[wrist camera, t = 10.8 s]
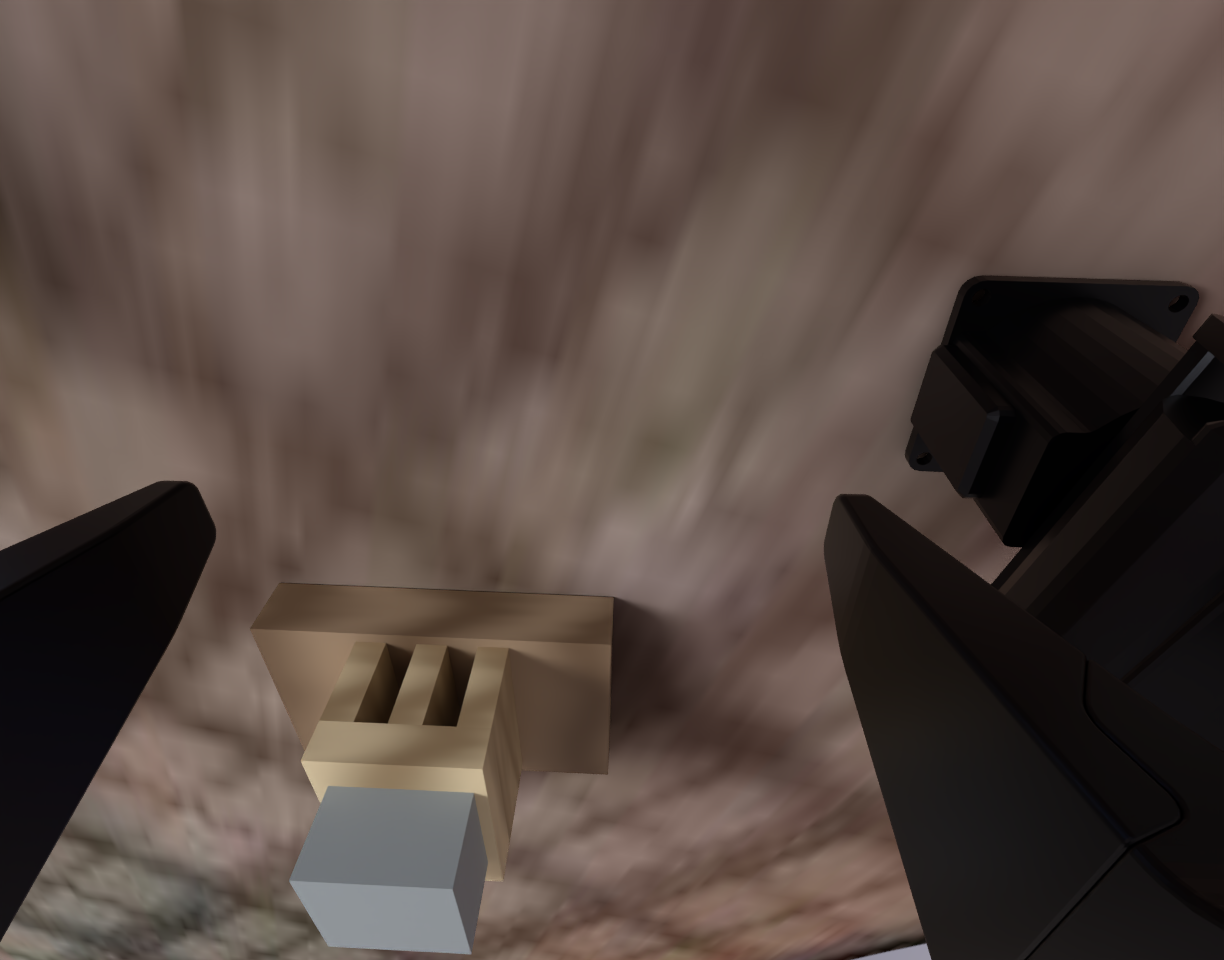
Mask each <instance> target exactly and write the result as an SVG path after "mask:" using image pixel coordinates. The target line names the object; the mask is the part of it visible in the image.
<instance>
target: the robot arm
mask: <svg viewBox="0 0 1224 960" xmlns="http://www.w3.org/2000/svg"><path fill="white" fill-rule="evenodd" d="M981 289H985V294H984V295H983V297H982V298H981V299H979V300H978V301H972V297H973V295H974V294H975V293H976V292H977V291H979V290H981ZM1177 296H1179V299H1178V301H1177V302H1176V303H1175V304H1173V305H1172V306H1170V307H1169V303H1170V302H1171V301H1172V300H1173V299H1174V298H1176V297H1177ZM1198 299H1199V294H1198V291H1197V290H1196V289H1195V288H1193V287H1191V286H1189V285H1187V284H1185V283H1182V282H1175V281H1143V280H1110V279H1077V278H1044V277H1011V276H976V277H973V278H971V279H969V280H967V281H966V282H965V283H964V284H963V285H962V286H961V288H960V290H959V292H958V295H957V298H956V301H955V304H954V307H953V310H952V313H951V316H950V319H949V322H948V325H947V328H946V331H945V334H944V337H943V340H942V343H941V345H940V346H938V347H937V348H936V349H935V350H934V351H933V352H932V355H931V358H930V361H929V364H928V367H927V370H926V373H925V376H924V379H923V382H922V385H921V388H920V392H919V395H918V398H917V401H916V404H915V407H914V410H913V413H912V416H911V423H912V424H913V426H914V427H913V430H912V433H911V436H910V439H909V442H908V445H907V448H906V451H905V457H906V460H907V462H908V463H909V465H910V467H911V468H913V469H914V470H918V471H934V472H944V473H945V475H946V476H947V478H948V479H949V481H950V483H951V484H952V486H953V487H954V489H955V490H956V491H957V493H958V494H959V495H960V496H961V497H962V498H973V499H974V501H975V502H976V504H977V505H978V507H979V508H980V510H981V511H982V512H983V514H984V515H985V517H986V518H987V520H988V521H989V523H990V524H991V526H992V527H993V529H994V530H995V532H996V533H997V535H998V536H999V538H1000V539H1001V541H1002V542H1003V543H1004V545H1005V546H1009V547H1022V549H1021V550H1020V551H1019V552H1018V553H1017V554H1016V556H1015V557H1014V558H1013V559H1012V560H1011V562H1010V563H1009V564H1008V565H1007V566H1006V568H1005V569H1004V570H1003V571H1002V572H1001V573H1000V575H999V576H998V577H997V578H996V579H995V581H994V582H993V583H992V584H991V585H990V584H989V583H988V582H986V581H985V580H983V579H982V578H981V577H979V576H978V575H977V574H975V573H974V572H973V571H971V570H970V569H969V568H967V567H966V566H964V565H963V564H962V563H960V562H959V561H958V560H956V559H955V558H954V557H952V556H951V555H950V554H948V553H947V552H946V551H944V550H943V549H941V548H940V547H939V546H937V545H936V544H935V543H933V542H932V541H931V540H929V539H928V538H927V537H925V536H924V535H922V534H921V533H920V532H918V531H917V530H916V529H914V528H913V527H912V526H910V525H909V524H908V523H906V522H905V521H904V520H902V519H901V518H899V517H898V516H897V515H895V514H894V513H893V512H891V511H890V510H889V509H887V508H886V507H885V506H883V505H882V504H880V503H879V502H878V501H876V500H875V499H874V498H872V497H871V496H869V495H865V494H840V495H839V496H837V497H836V499H835V501H834V503H833V507H832V511H831V515H830V519H829V524H828V528H827V532H826V536H825V541H824V558H825V564H826V570H827V576H828V582H829V588H830V594H831V600H832V606H833V612H834V618H835V624H836V630H837V636H838V641H839V647H840V652H841V656H842V660H843V663H844V667H845V671H846V674H847V677H848V681H849V684H850V687H851V691H852V694H853V698H854V701H855V704H856V708H857V711H858V714H859V718H860V721H861V724H862V728H863V731H864V734H865V738H866V741H867V745H868V748H869V751H870V755H871V758H872V761H873V765H874V768H875V771H876V775H877V778H878V781H879V785H880V788H881V792H882V795H883V798H884V802H885V805H886V808H887V812H888V815H889V818H890V822H891V825H892V829H893V832H894V835H895V839H896V842H897V845H898V849H899V852H900V855H901V859H902V862H903V865H904V869H905V872H906V876H907V879H908V882H909V886H910V889H911V892H912V896H913V899H914V902H915V906H916V909H917V913H918V916H919V919H920V923H921V926H922V929H923V933H924V936H925V939H926V943H927V946H928V949H929V953H930V956H931V959H932V960H1224V316H1220V315H1217V314H1211V315H1210V316H1209V318H1208V319H1207V320H1206V321H1205V322H1204V324H1203V325H1202V326H1201V327H1200V328H1199V330H1198V331H1197V332H1196V333H1195V334H1194V336H1193V338H1194V339H1195V340H1196V342H1195V343H1194V344H1193V345H1192V346H1191V348H1190V349H1189V350H1186V349H1185V348H1183V347H1182V346H1180V345H1178V344H1177V343H1176V341H1177V339H1178V337H1179V336H1180V334H1181V332H1182V330H1183V328H1184V327H1185V325H1186V323H1187V321H1188V319H1189V318H1190V316H1191V314H1192V312H1193V310H1194V309H1195V307H1196V305H1197V302H1198ZM924 452H928V453H927V455H926V456H924V457H923V458H917V457H918V455H920V454H921V453H924ZM215 540H216V528H215V524H214V522H213V520H212V518H211V516H210V513H209V511H208V509H207V507H206V505H205V503H204V500H203V498H202V496H201V494H200V492H199V490H198V488H197V487H196V486H195V485H194V484H193V483H190V482H188V481H159V482H156V483H154V484H151V485H149V486H147V487H144V488H142V489H140V490H138V491H135V492H133V493H131V494H129V495H126V496H124V497H122V498H119V499H117V500H115V501H113V502H110V503H108V504H106V505H103V506H101V507H99V508H97V509H94V510H92V511H90V512H87V513H85V514H83V515H81V516H78V517H76V518H74V519H72V520H69V521H67V522H65V523H62V524H60V525H58V526H56V527H53V528H51V529H49V530H46V531H44V532H42V533H40V534H37V535H35V536H33V537H30V538H28V539H26V540H24V541H21V542H19V543H17V544H15V545H12V546H10V547H8V548H5V549H3V550H1V551H0V942H1V940H2V938H3V936H4V934H5V933H6V931H7V929H8V927H9V926H10V924H11V922H12V920H13V919H14V917H15V915H16V913H17V912H18V910H19V908H20V906H21V905H22V903H23V901H24V899H25V898H26V896H27V894H28V892H29V890H30V889H31V887H32V885H33V883H34V882H35V880H36V878H37V876H38V875H39V873H40V871H41V869H42V868H43V866H44V864H45V862H46V861H47V859H48V857H49V855H50V853H51V852H52V850H53V848H54V846H55V845H56V843H57V841H58V839H59V838H60V836H61V834H62V832H63V831H64V829H65V827H66V825H67V824H68V822H69V820H70V818H71V817H72V815H73V813H74V811H75V809H76V808H77V806H78V804H79V802H80V801H81V799H82V797H83V795H84V794H85V792H86V790H87V788H88V787H89V785H90V783H91V781H92V780H93V778H94V776H95V774H96V773H97V771H98V769H99V767H100V765H101V764H102V762H103V760H104V758H105V757H106V755H107V753H108V751H109V750H110V748H111V746H112V744H113V743H114V741H115V739H116V737H117V736H118V734H119V732H120V730H121V728H122V727H123V725H124V723H125V721H126V720H127V718H128V716H129V714H130V713H131V711H132V709H133V707H134V706H135V704H136V702H137V700H138V699H139V697H140V695H141V693H142V692H143V690H144V688H145V686H146V684H147V683H148V681H149V679H150V677H151V676H152V674H153V672H154V670H155V669H156V667H157V665H158V663H159V662H160V660H161V658H162V656H163V655H164V653H165V651H166V649H167V647H168V646H169V644H170V642H171V640H172V638H173V636H174V634H175V632H176V630H177V628H178V626H179V624H180V622H181V619H182V617H183V615H184V613H185V610H186V608H187V606H188V603H189V601H190V599H191V597H192V594H193V592H194V590H195V587H196V585H197V583H198V580H199V578H200V576H201V574H202V571H203V569H204V567H205V564H206V562H207V560H208V557H209V555H210V553H211V551H212V548H213V546H214V543H215Z"/></svg>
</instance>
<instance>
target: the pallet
mask: <svg viewBox="0 0 1224 960" xmlns="http://www.w3.org/2000/svg"><path fill="white" fill-rule="evenodd" d="M301 763H302V765H303V767H304V769H305V771H306V773H307V775H308V778H309V780H310V782H311V784H312V786H313V788H314V790H315V792H316V795H317V797H318V799H319V801H320V803H321V802H322V799H323V797H324V794H325V792H326V790H327V787H328V786H342V787H363V788H384V789H405V790H426V791H447V792H468V793H474V796H475V801H476V806H477V811H478V816H479V821H480V825H481V830H482V835H483V840H484V845H485V850H486V855H487V859H488V866H487V871H486V877H485V880H487V881H503V879H504V873H505V867H506V861H507V855H508V849H509V843H510V837H511V831H512V824H513V818H514V812H515V806H516V800H517V794H518V788H519V782H520V776H521V770H522V756H521V747H520V739H519V731H518V722H517V714H516V706H515V697H514V689H513V681H512V672H511V664H510V656H509V648H497V647H478V648H477V652H476V655H475V659H474V663H473V667H472V671H471V674H470V678H469V682H468V686H467V689H466V693H465V697H464V701H463V705H462V708H461V712H460V707H459V702H458V697H457V692H456V687H455V682H454V677H453V672H452V667H451V662H450V657H449V652H448V647H447V645H424V644H416V647H415V650H414V653H413V655H412V658H411V661H410V664H409V666H408V669H407V672H406V675H405V677H404V680H403V683H402V686H401V688H400V691H399V687H398V684H397V680H396V676H395V673H394V669H393V666H392V662H391V659H390V655H389V652H388V648H387V645H386V643H376V642H355V644H354V646H353V648H352V651H351V653H350V655H349V657H348V659H347V661H346V664H345V666H344V668H343V670H342V672H341V674H340V677H339V679H338V681H337V683H336V685H335V687H334V690H333V692H332V694H331V696H330V698H329V700H328V703H327V705H326V707H325V709H324V711H323V713H322V716H321V718H320V720H319V722H318V724H317V726H316V729H315V731H314V733H313V735H312V737H311V739H310V742H309V744H308V746H307V748H306V750H305V752H304V755H303V757H302V759H301Z"/></svg>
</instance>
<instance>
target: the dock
mask: <svg viewBox="0 0 1224 960" xmlns="http://www.w3.org/2000/svg"><path fill="white" fill-rule="evenodd" d="M613 599H614V597H595V596H571V595H548V594H524V593H501V592H477V591H454V590H430V589H407V588H383V587H360V586H336V585H313V584H289V583H279V584H278V586H277V588H276V589H275V591H274V592H273V594H272V595H271V597H270V598H269V600H268V602H267V603H266V605H265V606H264V608H263V609H262V611H261V612H260V614H259V616H258V617H257V619H256V620H255V622H254V623H253V625H252V626H251V628H250V630H251V632H252V634H253V637H254V639H255V641H256V643H257V646H258V648H259V650H260V652H261V655H262V657H263V659H264V661H265V664H266V666H267V668H268V670H269V672H270V675H271V677H272V679H273V681H274V684H275V686H276V688H277V690H278V693H279V695H280V697H281V699H282V701H283V704H284V706H285V708H286V710H287V713H288V715H289V717H290V719H291V722H292V724H293V726H294V728H295V730H296V733H297V735H298V737H299V739H300V742H301V744H302V746H303V748H304V751H305V750H306V748H307V746H308V744H309V742H310V739H311V737H312V735H313V733H314V731H315V729H316V726H317V724H318V722H319V720H320V718H321V716H322V713H323V711H324V709H325V707H326V705H327V703H328V700H329V698H330V696H331V694H332V692H333V690H334V687H335V685H336V683H337V681H338V679H339V677H340V674H341V672H342V670H343V668H344V666H345V664H346V661H347V659H348V657H349V655H350V653H351V651H352V648H353V646H354V644H355V642H376V643H386V645H387V648H388V652H389V655H390V659H391V662H392V666H393V669H394V673H395V676H396V680H397V684H398V687H399V691H400V688H401V686H402V683H403V680H404V677H405V675H406V672H407V669H408V666H409V664H410V661H411V658H412V655H413V653H414V650H415V647H416V644H424V645H447V647H448V652H449V657H450V662H451V667H452V672H453V677H454V682H455V687H456V692H457V697H458V702H459V707H460V712H461V708H462V705H463V701H464V697H465V693H466V689H467V686H468V682H469V678H470V674H471V671H472V667H473V663H474V659H475V655H476V652H477V648H478V647H497V648H509V656H510V664H511V672H512V681H513V689H514V697H515V706H516V714H517V722H518V731H519V739H520V747H521V756H522V770H526V771H546V772H567V773H587V774H607V775H608V759H609V739H610V712H611V675H612V637H613Z"/></svg>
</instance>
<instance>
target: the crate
mask: <svg viewBox="0 0 1224 960" xmlns="http://www.w3.org/2000/svg"><path fill="white" fill-rule="evenodd" d="M487 866H488V859H487V855H486V850H485V845H484V840H483V835H482V830H481V825H480V821H479V816H478V811H477V806H476V801H475V796H474V793H468V792H447V791H426V790H405V789H384V788H363V787H342V786H328V787H327V790H326V792H325V794H324V797H323V799H322V802H321V804H320V807H319V809H318V812H317V814H316V816H315V819H314V821H313V824H312V826H311V829H310V831H309V833H308V836H307V838H306V841H305V843H304V846H303V848H302V851H301V853H300V855H299V858H298V860H297V863H296V865H295V868H294V870H293V872H292V875H291V877H290V880H289V882H290V883H291V885H292V887H293V888H294V890H295V892H296V893H297V895H298V897H299V898H300V900H301V902H302V903H303V905H304V907H305V908H306V910H307V912H308V913H309V915H310V917H311V918H312V920H313V922H314V923H315V925H316V927H317V928H318V930H319V932H320V933H321V935H322V936H323V938H324V940H325V941H326V943H327V945H328V946H330V947H348V948H367V949H385V950H404V951H422V952H441V953H459V954H471V952H472V947H473V942H474V936H475V931H476V925H477V920H478V915H479V909H480V904H481V898H482V893H483V888H484V882H485V877H486V871H487Z"/></svg>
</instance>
